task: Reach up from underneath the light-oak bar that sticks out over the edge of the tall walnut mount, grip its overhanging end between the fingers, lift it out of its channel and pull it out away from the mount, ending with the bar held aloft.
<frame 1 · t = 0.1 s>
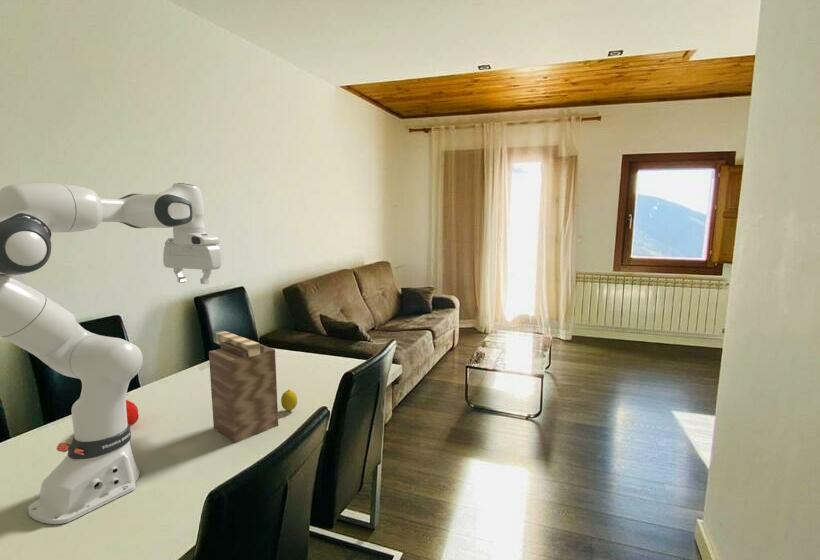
hand: (193, 283, 132), 48 cm above the table, tool pointing down, fingers open, 8 cm apart
lemon: (289, 411, 152), on the table
oak bar: (236, 348, 139), point 26 cm above the table, touching walnut mount
tomato: (115, 430, 138), on the table
walnut mount: (246, 427, 140), on the table
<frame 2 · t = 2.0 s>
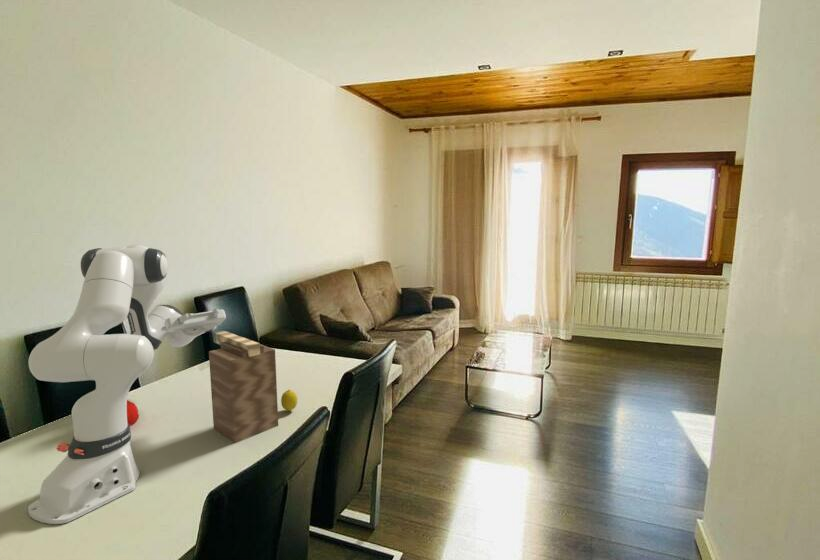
hand: (203, 313, 150), 35 cm above the table, tool pointing upward, fingers open, 8 cm apart
nothing on the table moved.
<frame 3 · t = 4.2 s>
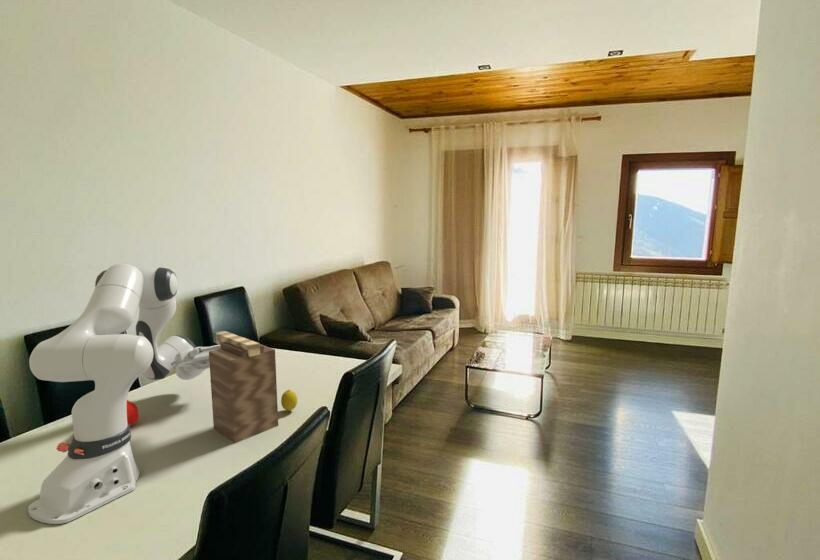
hand: (213, 347, 150), 23 cm above the table, tool pointing upward, fingers open, 8 cm apart
nothing on the table moved.
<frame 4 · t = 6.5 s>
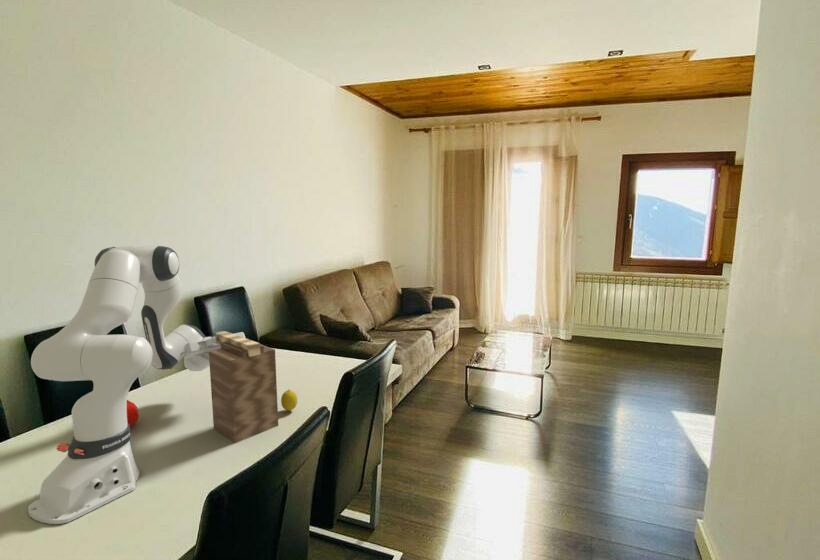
hand: (223, 337, 144), 28 cm above the table, tool pointing upward, fingers closed on oak bar, 3 cm apart
oak bar: (235, 348, 139), point 26 cm above the table, touching gripper, walnut mount
everything else where it was.
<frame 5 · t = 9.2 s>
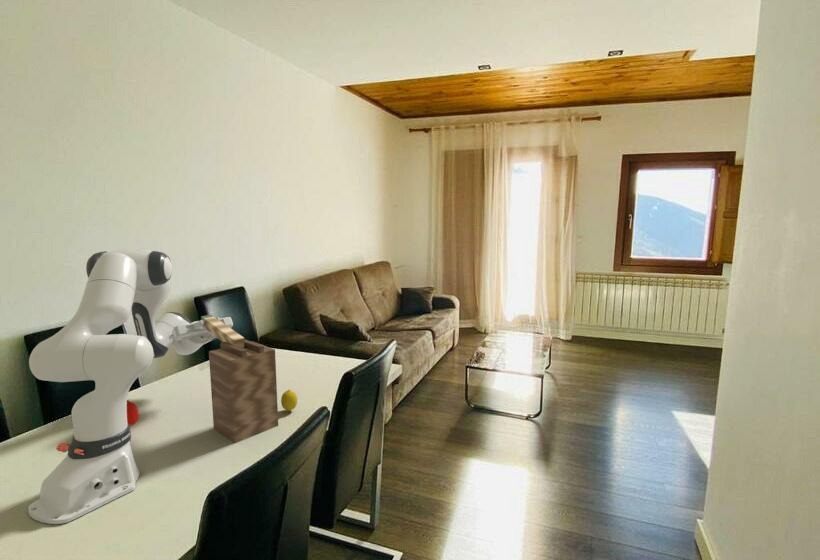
hand: (210, 320, 150), 32 cm above the table, tool pointing upward, fingers closed on oak bar, 3 cm apart
oak bar: (221, 336, 145), point 28 cm above the table, tilted 10°, touching gripper
everything else where it was.
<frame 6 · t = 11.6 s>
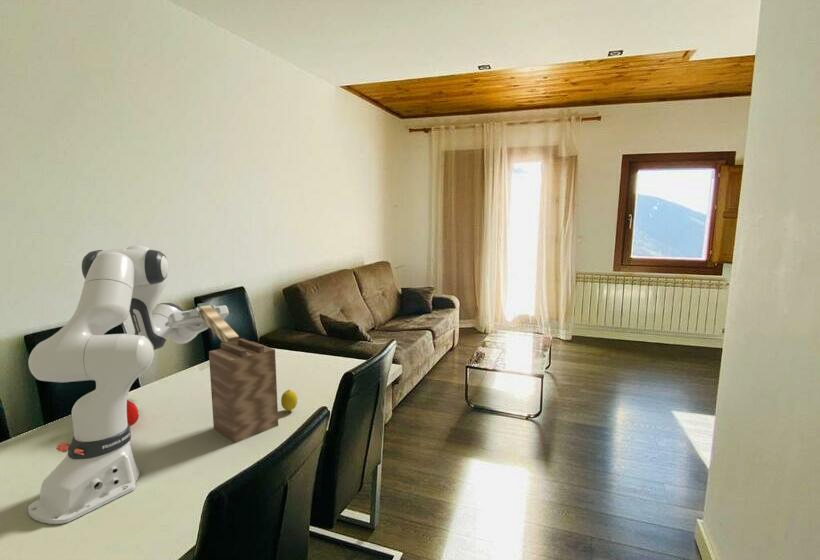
hand: (206, 308, 152), 36 cm above the table, tool pointing upward, fingers closed on oak bar, 3 cm apart
oak bar: (216, 328, 148), point 30 cm above the table, tilted 21°, touching gripper, walnut mount
everything else where it was.
at the end: the gripper is holding oak bar; oak bar moved 14.4 cm from its start; oak bar point 30.2 cm above the table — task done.
